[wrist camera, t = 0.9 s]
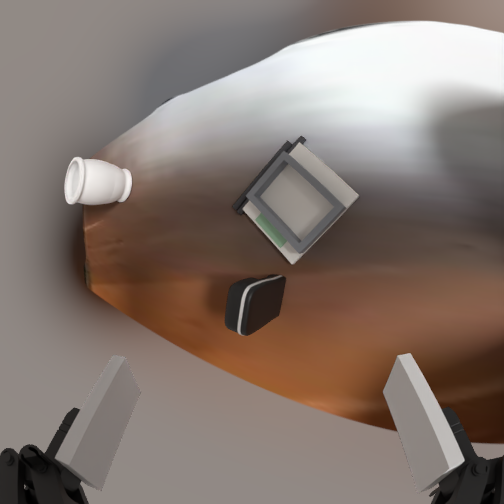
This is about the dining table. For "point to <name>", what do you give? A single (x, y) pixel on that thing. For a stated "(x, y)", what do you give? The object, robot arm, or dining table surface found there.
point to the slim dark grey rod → (243, 196)
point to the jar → (96, 182)
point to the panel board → (298, 201)
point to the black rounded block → (253, 303)
